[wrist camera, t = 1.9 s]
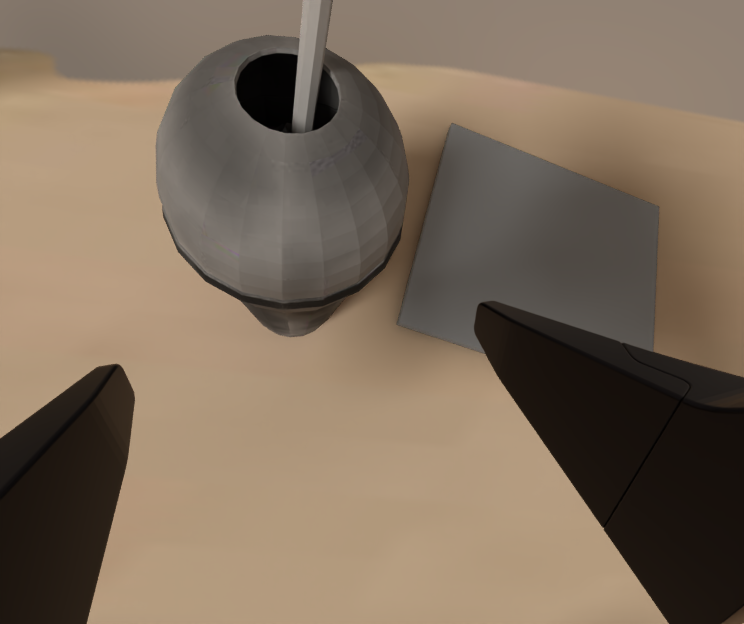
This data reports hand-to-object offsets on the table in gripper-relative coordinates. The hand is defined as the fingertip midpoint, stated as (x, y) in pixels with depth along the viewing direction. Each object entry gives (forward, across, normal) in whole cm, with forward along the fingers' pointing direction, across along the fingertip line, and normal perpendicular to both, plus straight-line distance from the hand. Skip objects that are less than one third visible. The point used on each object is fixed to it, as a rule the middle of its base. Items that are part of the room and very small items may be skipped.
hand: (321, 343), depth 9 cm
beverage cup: (+12, 0, +6) cm, 14 cm away
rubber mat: (+12, -18, +5) cm, 22 cm away
